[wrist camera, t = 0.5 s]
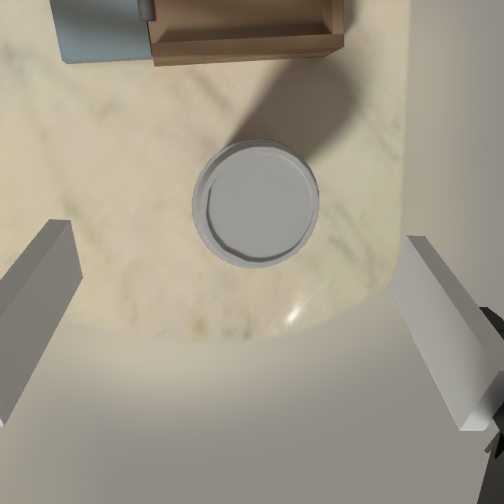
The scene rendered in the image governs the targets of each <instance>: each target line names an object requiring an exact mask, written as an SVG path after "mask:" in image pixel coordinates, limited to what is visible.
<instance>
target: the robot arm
mask: <svg viewBox="0 0 504 504" xmlns="http://www.w3.org/2000/svg"><path fill="white" fill-rule="evenodd" d="M82 278H83V276H82V271H81V267H80V262H79V258H78V253H77V248H76V244H75V239H74V235H73V230H72V226H71V221H70V220H53V219H49V220H48V222H47V223H46V224H45V225H44V227H43V228H42V229H41V230H40V232H39V233H38V234H37V235H36V237H35V238H34V239H33V240H32V241H31V243H30V244H29V245H28V246H27V248H26V249H25V250H24V251H23V253H22V254H21V255H20V256H19V258H18V259H17V260H16V261H15V263H14V264H13V265H12V266H11V268H10V269H9V270H8V271H7V272H6V274H5V275H4V276H3V277H2V279H1V280H0V426H5V424H6V422H7V420H8V418H9V416H10V414H11V413H12V411H13V409H14V407H15V405H16V403H17V401H18V399H19V398H20V396H21V394H22V392H23V390H24V388H25V386H26V384H27V382H28V381H29V379H30V377H31V375H32V373H33V371H34V369H35V367H36V365H37V364H38V362H39V360H40V358H41V356H42V354H43V352H44V350H45V348H46V347H47V344H48V343H49V341H50V339H51V337H52V335H53V333H54V331H55V329H56V327H57V326H58V324H59V322H60V320H61V318H62V316H63V314H64V312H65V311H66V309H67V307H68V305H69V303H70V301H71V299H72V297H73V295H74V294H75V292H76V290H77V288H78V286H79V284H80V282H81V280H82ZM388 289H389V291H390V293H391V295H392V297H393V299H394V301H395V303H396V305H397V307H398V309H399V311H400V313H401V315H402V317H403V319H404V321H405V323H406V325H407V327H408V329H409V331H410V333H411V335H412V337H413V339H414V341H415V343H416V345H417V347H418V349H419V351H420V353H421V355H422V357H423V359H424V361H425V363H426V365H427V367H428V369H429V371H430V373H431V375H432V377H433V379H434V381H435V382H436V385H437V387H438V389H439V390H440V393H441V395H442V396H443V399H444V401H445V403H446V404H447V406H448V408H449V410H450V412H451V414H452V416H453V418H454V420H455V422H456V424H457V426H458V428H459V430H460V431H462V430H463V431H484V430H485V429H486V427H487V426H488V424H489V423H490V422H491V420H492V419H494V421H495V423H496V425H497V426H498V428H499V430H500V431H499V432H498V433H497V434H496V436H495V437H494V438H493V440H492V441H491V443H490V444H489V445H488V446H487V448H486V449H485V452H486V453H489V452H490V450H491V449H492V450H491V453H490V457H489V461H488V464H487V468H486V472H485V476H484V479H483V483H482V487H481V491H480V494H479V498H478V502H477V504H504V321H503V319H502V318H501V317H499V316H498V315H497V314H495V313H494V312H492V311H491V310H490V309H489V308H488V307H478V306H477V304H476V303H475V302H474V300H473V299H472V298H471V296H470V295H469V294H468V293H467V291H466V290H465V289H464V287H463V286H462V285H461V283H460V282H459V281H458V279H457V278H456V277H455V275H454V274H453V273H452V271H451V270H450V269H449V267H448V266H447V265H446V263H445V262H444V261H443V260H442V258H441V257H440V256H439V254H438V253H437V252H436V250H435V249H434V248H433V246H432V245H431V244H430V243H429V241H428V240H427V238H426V237H425V236H408V235H407V236H406V238H405V241H404V244H403V247H402V250H401V252H400V255H399V258H398V261H397V264H396V267H395V270H394V272H393V275H392V278H391V281H390V284H389V287H388Z"/></svg>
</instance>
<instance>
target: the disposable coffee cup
mask: <svg viewBox="0 0 504 504" xmlns="http://www.w3.org/2000/svg"><path fill="white" fill-rule="evenodd" d="M318 211H319V191H318V187H317V183H316V180H315V177H314V175H313V173H312V171H311V169H310V167H309V166H308V165H307V163H306V162H305V161H304V159H303V158H302V157H301V156H300V155H298V154H297V153H296V152H295V151H294V150H293V149H291V148H289V147H287V146H285V145H283V144H281V143H279V142H275V141H271V140H267V139H250V140H244V141H240V142H237V143H235V144H232V145H230V146H228V147H226V148H224V149H223V150H221V151H220V152H218V153H217V154H216V155H215V156H214V157H213V158H212V159H211V160H210V161H209V162H208V163H207V165H206V166H205V167H204V169H203V170H202V172H201V173H200V175H199V178H198V180H197V182H196V185H195V188H194V193H193V198H192V214H193V218H194V223H195V227H196V229H197V231H198V234H199V236H200V238H201V239H202V241H203V242H204V244H205V245H206V247H207V248H208V249H209V250H210V251H212V252H213V253H214V254H215V255H216V256H217V257H219V258H220V259H222V260H223V261H225V262H228V263H230V264H232V265H235V266H239V267H244V268H264V267H268V266H272V265H275V264H278V263H281V262H283V261H285V260H287V259H288V258H290V257H291V256H293V255H294V254H296V253H297V252H298V251H299V250H300V249H301V248H302V247H303V246H304V245H305V244H306V242H307V241H308V239H309V238H310V236H311V234H312V232H313V230H314V228H315V225H316V222H317V218H318Z"/></svg>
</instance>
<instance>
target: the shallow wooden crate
mask: <svg viewBox="0 0 504 504" xmlns="http://www.w3.org/2000/svg"><path fill="white" fill-rule="evenodd" d="M50 5H51V9H52V14H53V19H54V24H55V28H56V33H57V38H58V43H59V47H60V52H61V57H62V61H64V62H65V63H66V64H76V63H94V62H112V61H130V60H147V59H152V56H153V61H154V65H155V66H172V65H189V64H206V63H222V62H239V61H256V60H273V59H290V58H307V57H323V56H328V55H330V54H331V53H333V52H335V51H337V50H339V49H341V48H342V47H344V11H343V0H50ZM147 24H148V26H149V33H150V39H149V33H148V26H147ZM150 40H151V46H150ZM151 49H152V53H151Z"/></svg>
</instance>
